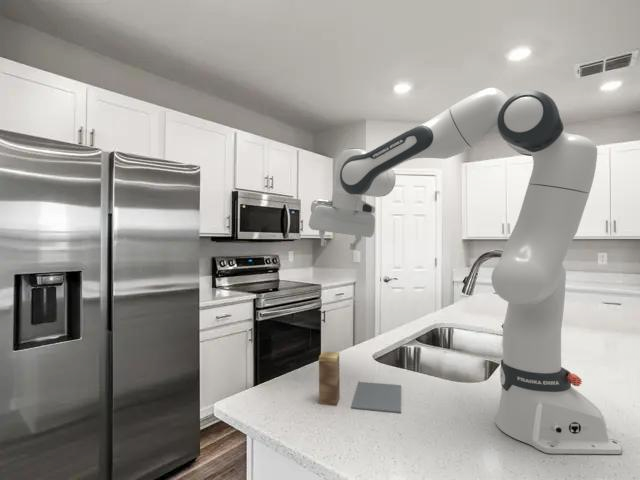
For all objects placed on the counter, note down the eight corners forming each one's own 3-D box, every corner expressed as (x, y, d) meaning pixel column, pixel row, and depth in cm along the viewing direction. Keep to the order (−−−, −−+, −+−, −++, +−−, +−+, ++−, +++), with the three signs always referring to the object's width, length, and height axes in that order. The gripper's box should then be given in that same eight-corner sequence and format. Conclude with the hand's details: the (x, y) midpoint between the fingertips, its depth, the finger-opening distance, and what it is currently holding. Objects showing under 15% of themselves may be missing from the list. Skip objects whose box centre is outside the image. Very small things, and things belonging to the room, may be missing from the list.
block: (339, 398, 95) (339, 352, 95) (336, 405, 90) (336, 358, 90) (322, 396, 96) (322, 351, 96) (319, 404, 91) (318, 356, 91)
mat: (400, 386, 102) (400, 385, 102) (400, 413, 86) (400, 411, 86) (358, 383, 104) (358, 381, 104) (351, 408, 89) (351, 406, 89)
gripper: (314, 198, 103) (307, 245, 105) (380, 208, 108) (372, 253, 110) (310, 197, 109) (303, 241, 111) (373, 207, 114) (365, 249, 116)
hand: (338, 247), depth 110 cm, fingers open, 8 cm apart
